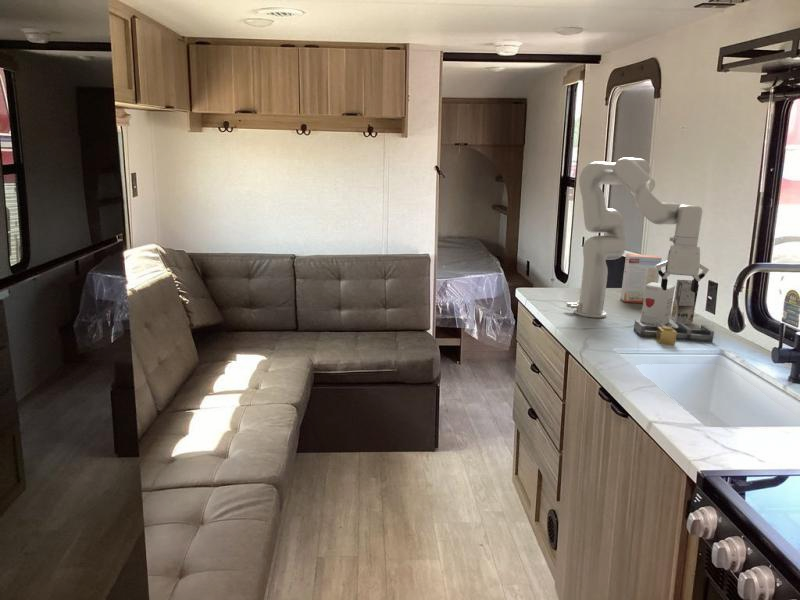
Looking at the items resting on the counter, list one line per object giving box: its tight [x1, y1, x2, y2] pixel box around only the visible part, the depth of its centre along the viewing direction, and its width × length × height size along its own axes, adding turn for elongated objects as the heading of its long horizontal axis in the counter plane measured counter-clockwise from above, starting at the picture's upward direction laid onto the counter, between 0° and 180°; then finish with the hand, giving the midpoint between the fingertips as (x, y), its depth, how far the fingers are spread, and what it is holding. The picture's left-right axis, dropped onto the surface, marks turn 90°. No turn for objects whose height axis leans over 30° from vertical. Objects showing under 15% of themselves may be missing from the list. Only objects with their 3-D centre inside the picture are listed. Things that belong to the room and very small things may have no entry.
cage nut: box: [654, 325, 677, 346], centre depth 224 cm, size 5×5×6 cm
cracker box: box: [620, 254, 662, 304], centre depth 285 cm, size 14×6×21 cm, turn 88°
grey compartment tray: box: [633, 319, 715, 343], centre depth 233 cm, size 25×9×4 cm, turn 85°
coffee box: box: [670, 279, 700, 326], centre depth 255 cm, size 9×6×16 cm
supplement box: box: [639, 282, 676, 326], centre depth 251 cm, size 9×9×15 cm
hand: (678, 290), depth 223 cm, fingers open, 9 cm apart
